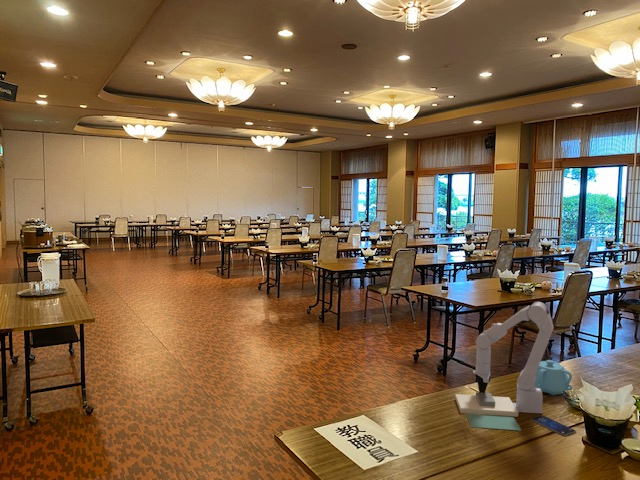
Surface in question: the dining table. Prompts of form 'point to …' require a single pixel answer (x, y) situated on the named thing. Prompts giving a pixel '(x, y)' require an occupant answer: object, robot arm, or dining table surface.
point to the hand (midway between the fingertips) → (481, 392)
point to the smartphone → (553, 425)
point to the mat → (493, 422)
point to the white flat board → (472, 406)
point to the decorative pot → (552, 378)
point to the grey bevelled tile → (485, 399)
